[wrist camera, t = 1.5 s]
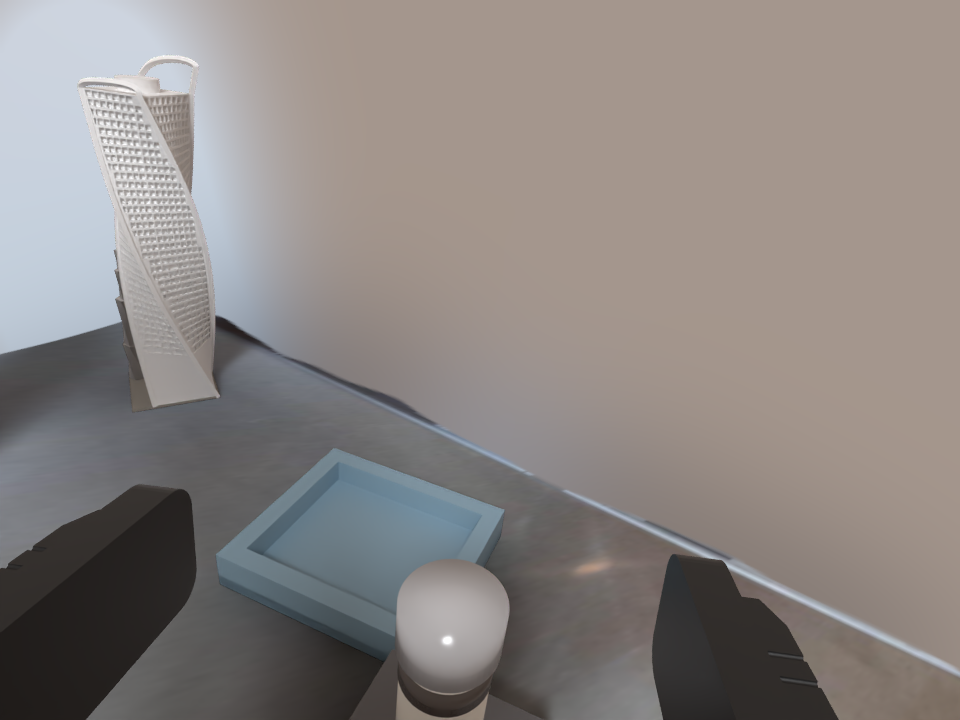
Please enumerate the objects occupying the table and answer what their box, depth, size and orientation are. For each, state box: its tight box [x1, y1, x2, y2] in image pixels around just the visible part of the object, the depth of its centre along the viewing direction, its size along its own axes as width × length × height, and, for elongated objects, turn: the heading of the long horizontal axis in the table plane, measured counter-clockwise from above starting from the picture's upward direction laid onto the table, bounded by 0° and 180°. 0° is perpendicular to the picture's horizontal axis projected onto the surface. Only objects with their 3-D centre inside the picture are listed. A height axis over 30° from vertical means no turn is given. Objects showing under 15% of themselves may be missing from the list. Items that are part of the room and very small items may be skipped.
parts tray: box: [216, 448, 505, 662], centre depth 38 cm, size 14×12×2 cm
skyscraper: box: [77, 55, 220, 412], centre depth 48 cm, size 8×8×28 cm
